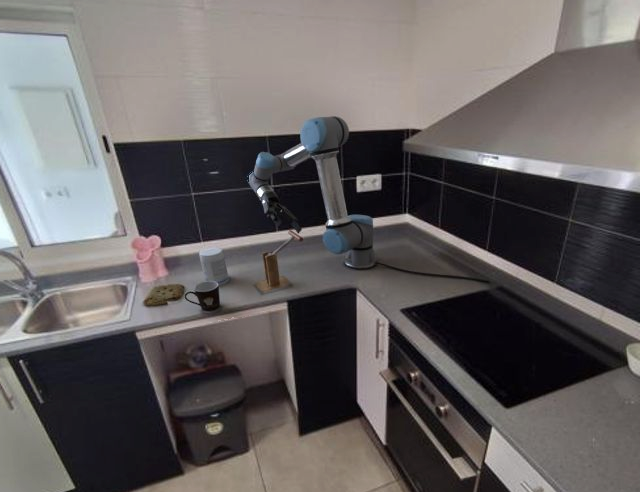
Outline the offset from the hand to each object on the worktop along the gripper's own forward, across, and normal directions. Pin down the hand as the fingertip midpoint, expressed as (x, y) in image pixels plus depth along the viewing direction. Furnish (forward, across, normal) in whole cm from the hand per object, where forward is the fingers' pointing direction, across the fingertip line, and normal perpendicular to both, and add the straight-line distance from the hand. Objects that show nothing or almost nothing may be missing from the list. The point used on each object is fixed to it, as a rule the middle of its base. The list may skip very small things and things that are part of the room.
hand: (290, 228), depth 171 cm
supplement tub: (+4, +20, -35) cm, 40 cm away
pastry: (+3, +38, -46) cm, 60 cm away
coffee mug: (+22, +35, -32) cm, 52 cm away
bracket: (+20, +10, -18) cm, 28 cm away
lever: (+13, +12, -3) cm, 18 cm away
